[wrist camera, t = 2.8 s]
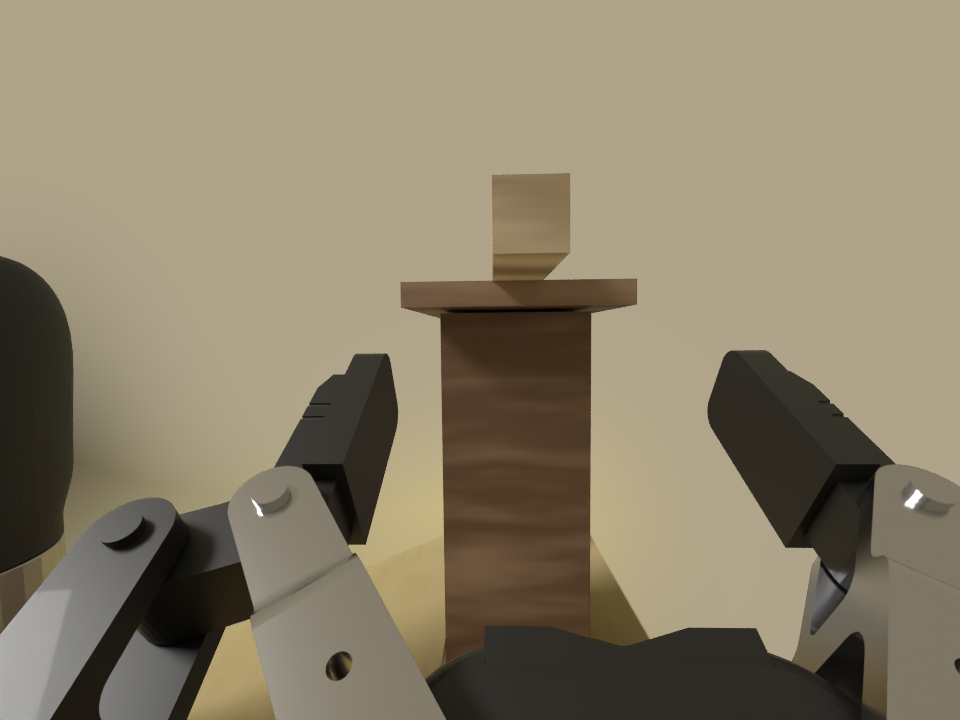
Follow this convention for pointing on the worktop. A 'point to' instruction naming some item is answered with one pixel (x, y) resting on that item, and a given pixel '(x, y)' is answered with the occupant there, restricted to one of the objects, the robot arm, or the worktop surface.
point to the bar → (529, 225)
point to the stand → (516, 449)
